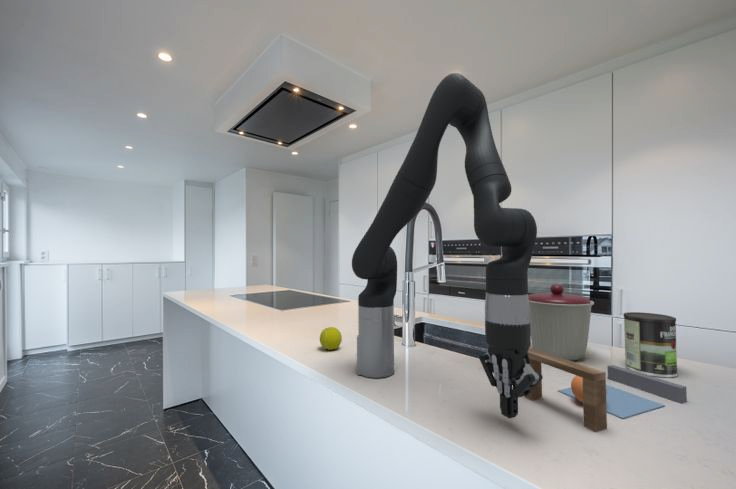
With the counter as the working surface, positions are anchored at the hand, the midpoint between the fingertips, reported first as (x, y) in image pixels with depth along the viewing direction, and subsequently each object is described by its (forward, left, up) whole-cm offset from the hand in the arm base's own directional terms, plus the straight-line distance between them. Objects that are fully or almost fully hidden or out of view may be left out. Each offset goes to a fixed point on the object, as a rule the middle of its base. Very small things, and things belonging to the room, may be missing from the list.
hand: (508, 415), depth 58 cm
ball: (+18, +10, +2) cm, 21 cm away
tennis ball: (-44, +40, -2) cm, 60 cm away
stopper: (+34, +20, -2) cm, 39 cm away
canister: (+25, +42, -2) cm, 49 cm away
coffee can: (+43, +32, -2) cm, 54 cm away
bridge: (+11, +6, -2) cm, 13 cm away
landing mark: (+23, +14, -2) cm, 27 cm away
